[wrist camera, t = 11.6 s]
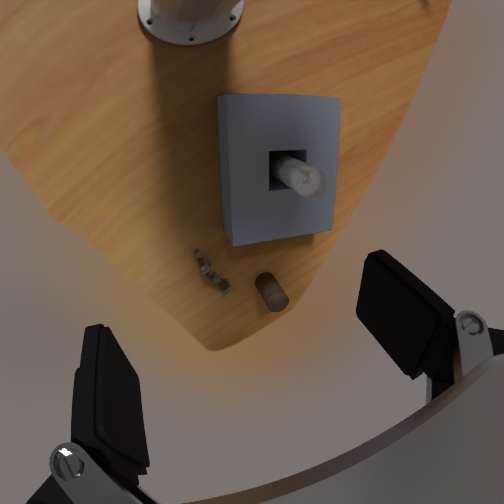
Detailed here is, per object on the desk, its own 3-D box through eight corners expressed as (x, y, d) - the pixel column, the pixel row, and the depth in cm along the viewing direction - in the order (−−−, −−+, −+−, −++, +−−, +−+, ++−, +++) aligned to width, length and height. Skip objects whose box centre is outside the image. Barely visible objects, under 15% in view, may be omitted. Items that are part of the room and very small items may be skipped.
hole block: (217, 95, 30) (226, 94, 26) (319, 97, 34) (340, 98, 30) (223, 230, 40) (233, 246, 35) (314, 216, 43) (331, 230, 39)
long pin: (260, 150, 36) (299, 169, 27) (283, 148, 36) (327, 168, 27) (260, 173, 37) (298, 200, 28) (282, 171, 38) (325, 197, 29)
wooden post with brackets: (197, 243, 38) (210, 268, 36) (221, 266, 45) (233, 289, 43) (186, 251, 38) (198, 276, 36) (211, 272, 45) (223, 295, 43)
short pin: (255, 274, 45) (268, 297, 40) (274, 270, 46) (289, 292, 41) (255, 290, 47) (268, 314, 42) (273, 286, 47) (288, 309, 42)
